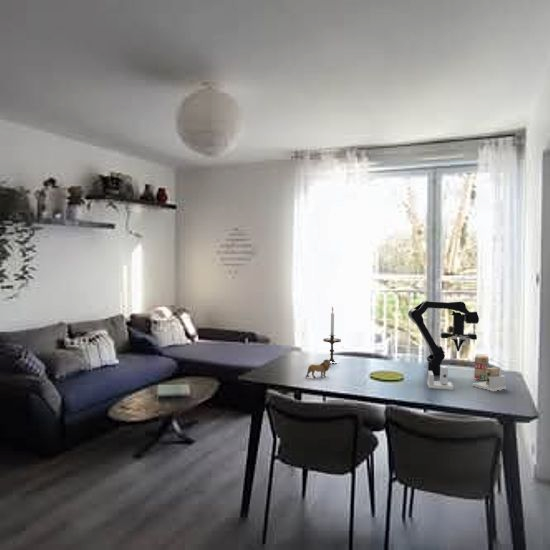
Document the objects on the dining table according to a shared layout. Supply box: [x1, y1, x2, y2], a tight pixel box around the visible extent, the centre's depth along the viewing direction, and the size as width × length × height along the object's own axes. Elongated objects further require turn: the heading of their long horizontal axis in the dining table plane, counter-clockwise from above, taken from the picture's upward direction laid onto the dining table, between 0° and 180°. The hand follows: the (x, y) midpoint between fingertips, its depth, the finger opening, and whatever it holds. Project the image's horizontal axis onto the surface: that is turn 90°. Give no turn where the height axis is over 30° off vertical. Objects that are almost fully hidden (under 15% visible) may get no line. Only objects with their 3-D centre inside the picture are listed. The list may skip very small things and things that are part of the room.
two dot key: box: [486, 367, 500, 385], centre depth 238 cm, size 3×6×8 cm, turn 120°
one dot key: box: [439, 364, 449, 384], centre depth 240 cm, size 3×6×8 cm, turn 167°
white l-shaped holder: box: [472, 374, 507, 392], centre depth 240 cm, size 12×10×6 cm
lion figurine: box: [305, 359, 331, 379], centre depth 258 cm, size 15×5×9 cm, turn 114°
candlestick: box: [322, 306, 342, 362], centre depth 298 cm, size 11×11×35 cm
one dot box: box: [426, 370, 455, 390], centre depth 241 cm, size 12×10×6 cm
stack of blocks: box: [473, 353, 490, 381], centre depth 266 cm, size 21×6×12 cm, turn 154°
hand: (458, 351), depth 270 cm, fingers closed
